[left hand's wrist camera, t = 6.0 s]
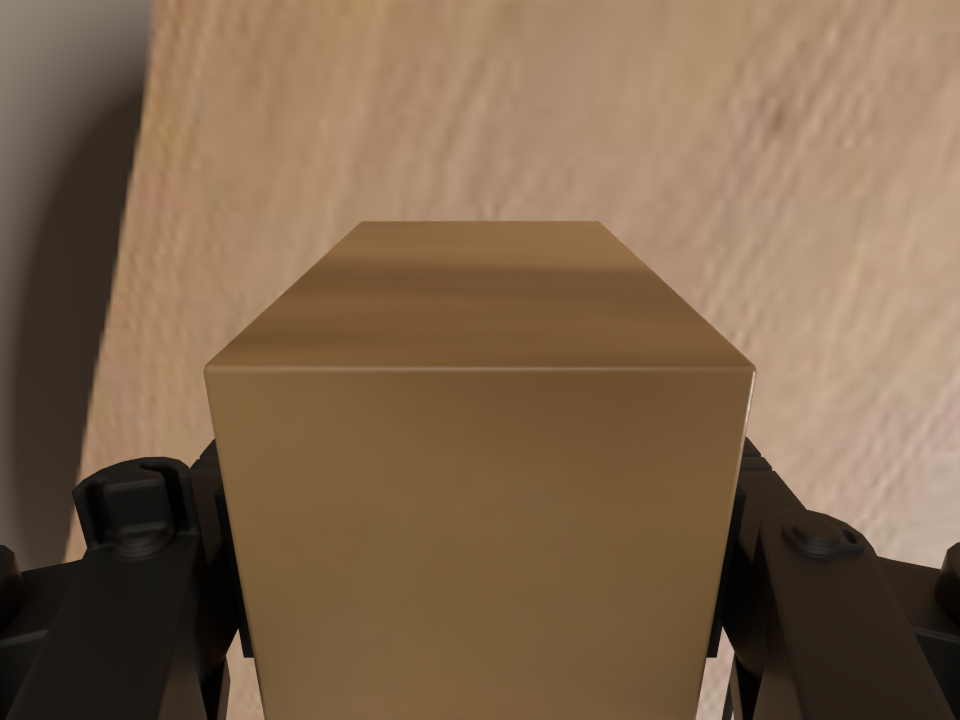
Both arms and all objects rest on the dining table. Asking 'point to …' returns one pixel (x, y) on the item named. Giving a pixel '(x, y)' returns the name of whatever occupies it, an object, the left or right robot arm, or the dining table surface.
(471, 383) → the bar
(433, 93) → the dining table surface
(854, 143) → the dining table surface
